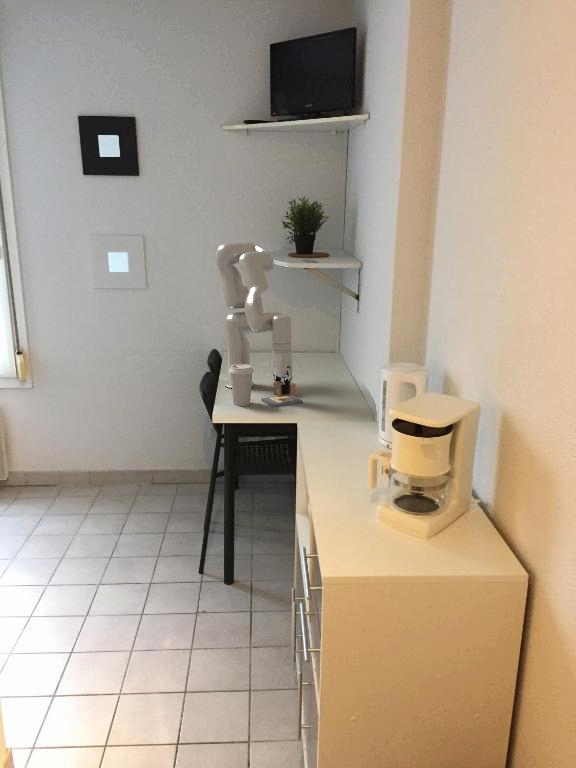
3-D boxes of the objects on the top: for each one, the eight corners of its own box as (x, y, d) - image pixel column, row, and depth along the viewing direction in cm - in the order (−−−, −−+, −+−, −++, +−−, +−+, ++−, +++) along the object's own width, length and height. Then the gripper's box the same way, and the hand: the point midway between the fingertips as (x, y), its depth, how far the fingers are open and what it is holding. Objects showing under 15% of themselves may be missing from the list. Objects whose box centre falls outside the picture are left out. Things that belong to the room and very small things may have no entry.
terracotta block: (278, 394, 268) (278, 382, 267) (289, 392, 271) (289, 380, 270) (284, 397, 264) (284, 385, 263) (295, 395, 267) (295, 383, 265)
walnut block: (273, 394, 257) (273, 381, 256) (284, 392, 260) (284, 380, 259) (279, 397, 253) (279, 384, 252) (290, 395, 256) (290, 383, 254)
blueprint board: (261, 400, 259) (261, 398, 258) (289, 396, 265) (289, 393, 265) (273, 407, 250) (273, 404, 250) (302, 402, 256) (302, 399, 256)
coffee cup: (229, 400, 259) (229, 363, 255) (253, 400, 260) (253, 363, 256) (229, 407, 250) (228, 369, 246) (254, 407, 250) (253, 369, 246)
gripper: (262, 344, 257) (263, 389, 262) (284, 351, 243) (284, 398, 247) (279, 342, 261) (279, 386, 265) (301, 349, 246) (301, 396, 251)
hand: (282, 392), depth 256 cm, fingers closed on walnut block, 5 cm apart
